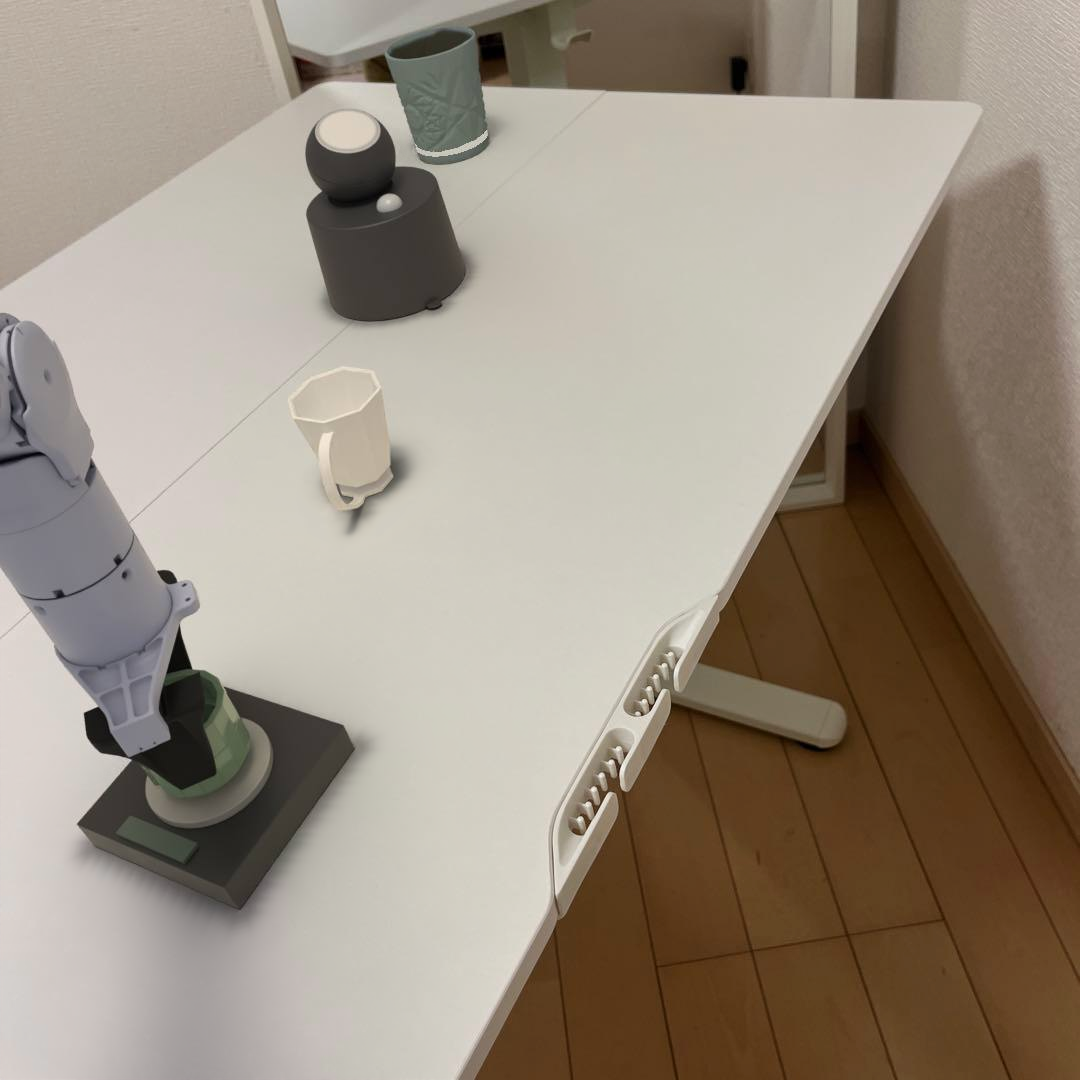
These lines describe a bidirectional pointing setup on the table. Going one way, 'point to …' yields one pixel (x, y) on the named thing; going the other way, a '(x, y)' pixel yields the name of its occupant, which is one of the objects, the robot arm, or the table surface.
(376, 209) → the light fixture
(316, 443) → the cup
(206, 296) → the table surface
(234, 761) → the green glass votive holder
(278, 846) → the scale
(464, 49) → the green embossed plant pot
